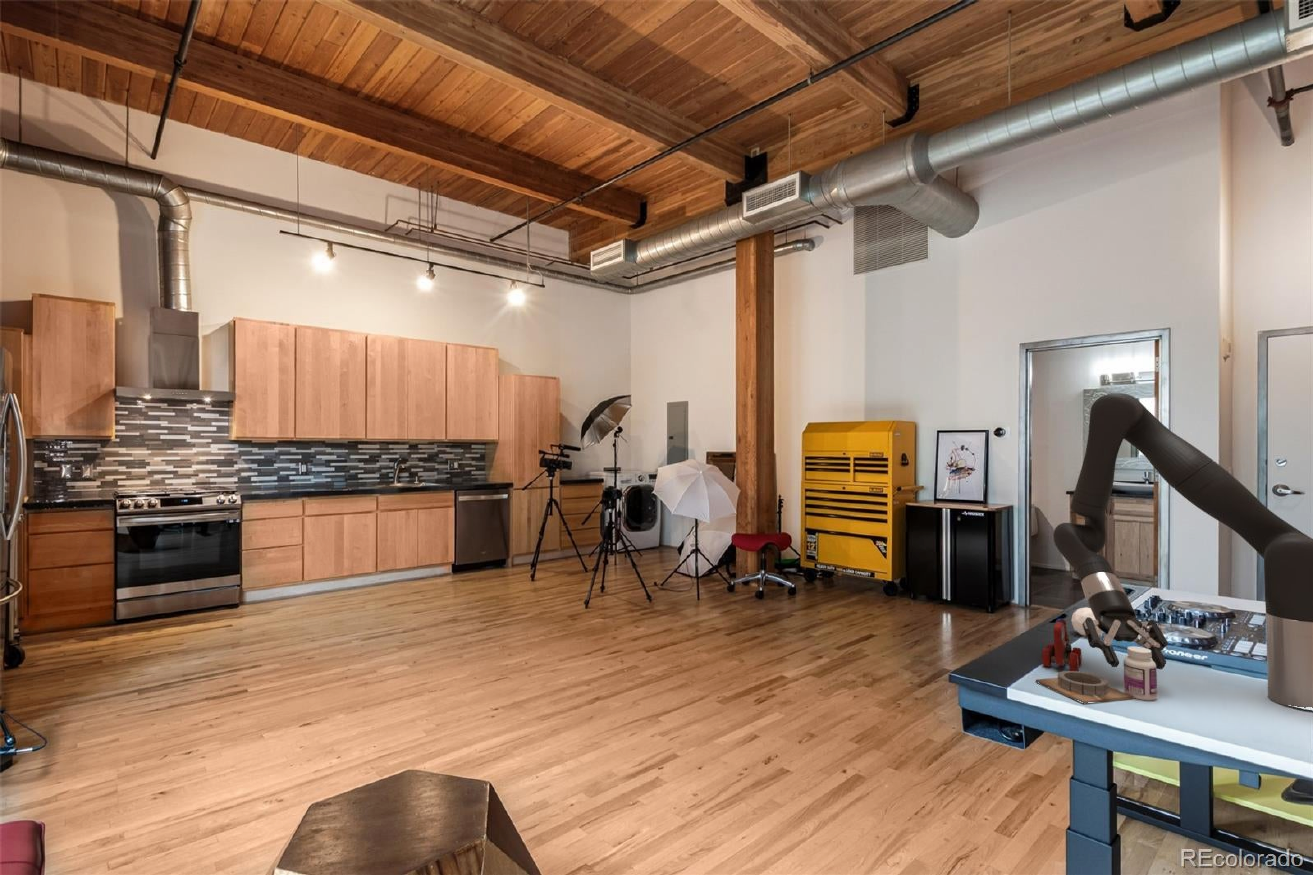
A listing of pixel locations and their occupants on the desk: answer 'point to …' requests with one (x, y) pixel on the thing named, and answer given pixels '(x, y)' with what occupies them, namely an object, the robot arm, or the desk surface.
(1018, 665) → the desk surface
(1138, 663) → the pill bottle
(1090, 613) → the geometric ball
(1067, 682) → the collar
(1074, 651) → the dark red upright piece
